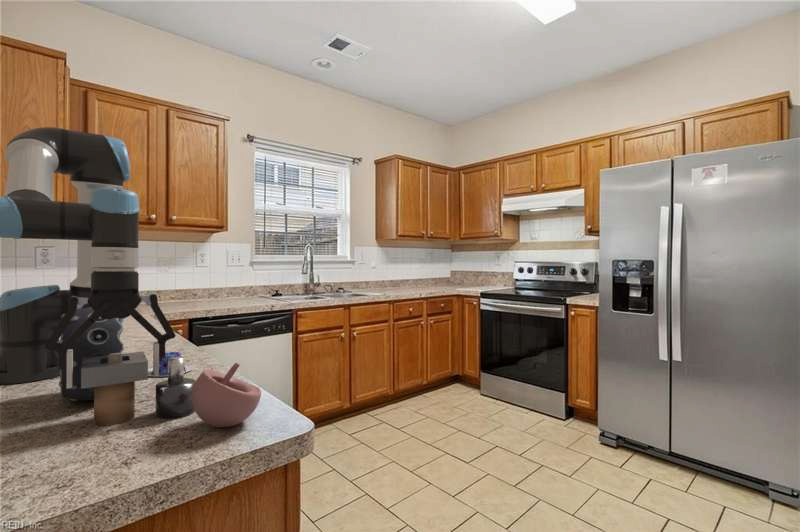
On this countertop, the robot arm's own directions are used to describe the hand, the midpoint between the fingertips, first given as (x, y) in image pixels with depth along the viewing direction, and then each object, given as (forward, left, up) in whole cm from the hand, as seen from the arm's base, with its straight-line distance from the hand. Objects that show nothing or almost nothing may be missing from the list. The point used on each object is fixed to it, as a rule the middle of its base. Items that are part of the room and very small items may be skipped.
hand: (115, 380), depth 79 cm
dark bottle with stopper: (+3, +10, -8) cm, 13 cm away
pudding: (-32, +13, -8) cm, 36 cm away
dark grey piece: (-17, -4, -8) cm, 19 cm away
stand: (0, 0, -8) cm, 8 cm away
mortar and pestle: (+15, +17, -8) cm, 24 cm away
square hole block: (0, 0, 0) cm, 1 cm away
